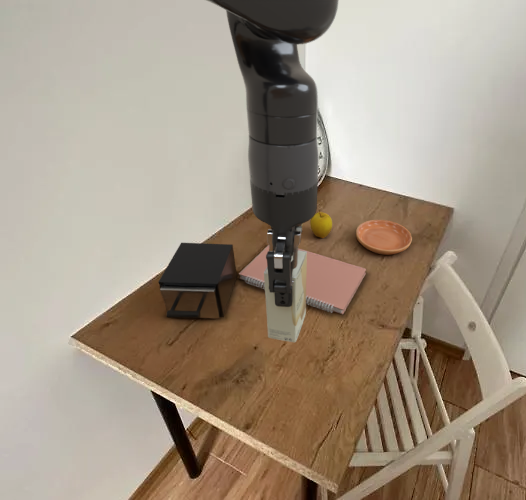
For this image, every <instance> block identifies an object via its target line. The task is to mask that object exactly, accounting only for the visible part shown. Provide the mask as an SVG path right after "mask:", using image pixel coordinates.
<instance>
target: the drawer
mask: <svg viewBox="0 0 526 500" xmlns="http://www.w3.org/2000/svg"><path fill="white" fill-rule="evenodd" d="M159 291H160V294H161V297H162V301H163V303H164V306H165V310H166V313H165V314H166V315H165V316H166V318H168V319H170V318H171V319H220V318H221V317H220V310H219V305H218V300H217V294H216V289H215V287H210V286H179V285H170V286H162V287H161V289H160V288H159Z"/></svg>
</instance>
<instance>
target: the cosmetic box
mask: <svg viewBox="0 0 526 500" xmlns="http://www.w3.org/2000/svg"><path fill="white" fill-rule="evenodd" d="M306 251H307V250H306ZM306 251H300V250H298V265H297V267H296V268H295V269H293V280H294V284H293V286H292V296H293V301H292V306H291V307H279V306H276V305H275V295H274V293H271V292H270V291H269V279H268V267H267V268H266V270H265V271H264V282H265V290H264V295H265V297H264V298H265V313H266V325H267V328H266V329H267V338H269V339H273V340H277V341H283V342H288V343H296V342H297V341H298V338H299V335H300V333H301V330H302V327H303V324H304V321H305V318H306V316H307V315H306V314H307V304H306V272H307V252H306ZM292 260H293V256H292V259H291V261H292Z"/></svg>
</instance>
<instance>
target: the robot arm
mask: <svg viewBox="0 0 526 500" xmlns="http://www.w3.org/2000/svg"><path fill="white" fill-rule="evenodd" d="M205 1H207V2H209V3H212V4H214V5H215V6H218V7H219V8H220V9H223V10H225V13H226V18H227V23H228V29H229V32H230V36H231V40H232V44H233V49H234V52H235V57H236V61H237V65H238V68H239V71H240V73H241V76H242V80H243V84H244V88H245V107H246V119H247V120H246V121H247V131H248V148H247V159H248V160H247V161H248V171H249V183H250V196H251V206H252V207H251V208H252V213H253V214H254V216H255V218H257V220H259V221H261V222H262V223H265V224H267V225H268V226H269V227H270V228H269V229H267V232H266V233H267V234H266V242H267V245H269V251H268V252H267V254H266V259H267V267H268V279H269V291H270V292H271V293H274V295H275V305H276V306H279V307H291V306H292V301H293V296H292V286H293V284H294V280H293V269H295V268H296V267H297V265H298V248H299V247H300V245H301V243H302V233H303V226H304V223H307V222H310V220H311V218H312V217H313V216H314V215H315V214H316V213H317V210H318V188H319V187H318V186H319V147H318V112H319V95H318V93H319V92H318V86H317V83H316V81H315V79H314V78H313V77H312V75H310V74H309V73H308V72H307V71H306V70H305V68H304V67H303V66H302V64H301V61H300V54H299V48H298V45H307V44H310V43H312V42H315V41H317V40H318V39H320V38H322V36H324V35H325V34H326V33H327V32H328V31H329V30H330V28H331V27H332V25H333V23H334V21H335V19H336V17H337V16H336V15H337V12H338V9H339V0H205ZM274 250H275V252H274ZM292 256H293V260H292V261H291V259H292Z"/></svg>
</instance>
